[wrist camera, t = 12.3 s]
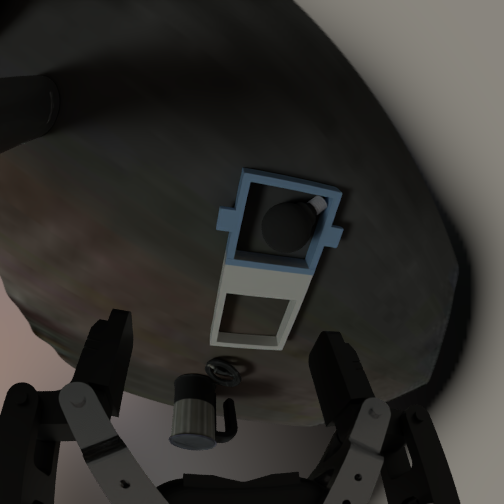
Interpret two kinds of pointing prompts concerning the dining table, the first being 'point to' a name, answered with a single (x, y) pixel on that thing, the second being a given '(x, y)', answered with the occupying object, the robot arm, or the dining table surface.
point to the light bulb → (291, 224)
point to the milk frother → (202, 408)
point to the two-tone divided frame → (270, 261)
